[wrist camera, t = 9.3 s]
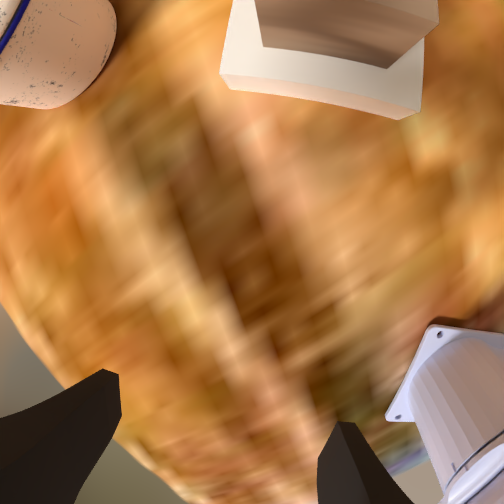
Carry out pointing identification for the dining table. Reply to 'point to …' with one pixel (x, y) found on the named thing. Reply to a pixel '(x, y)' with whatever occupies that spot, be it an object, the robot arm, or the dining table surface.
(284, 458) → the dining table surface
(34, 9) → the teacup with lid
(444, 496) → the robot arm
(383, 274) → the dining table surface
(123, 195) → the dining table surface
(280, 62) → the cream block
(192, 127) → the dining table surface
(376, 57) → the walnut cube
